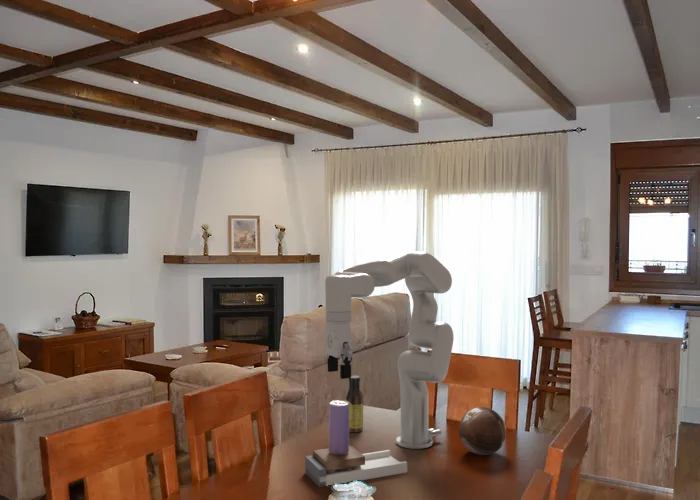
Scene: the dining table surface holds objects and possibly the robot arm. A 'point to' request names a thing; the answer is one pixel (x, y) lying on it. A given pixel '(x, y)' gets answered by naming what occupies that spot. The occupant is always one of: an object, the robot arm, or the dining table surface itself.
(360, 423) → the sauce bottle
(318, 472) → the track
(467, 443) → the wooden sphere
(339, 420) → the beverage can
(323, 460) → the slab
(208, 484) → the dining table surface
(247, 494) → the dining table surface
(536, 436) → the dining table surface
